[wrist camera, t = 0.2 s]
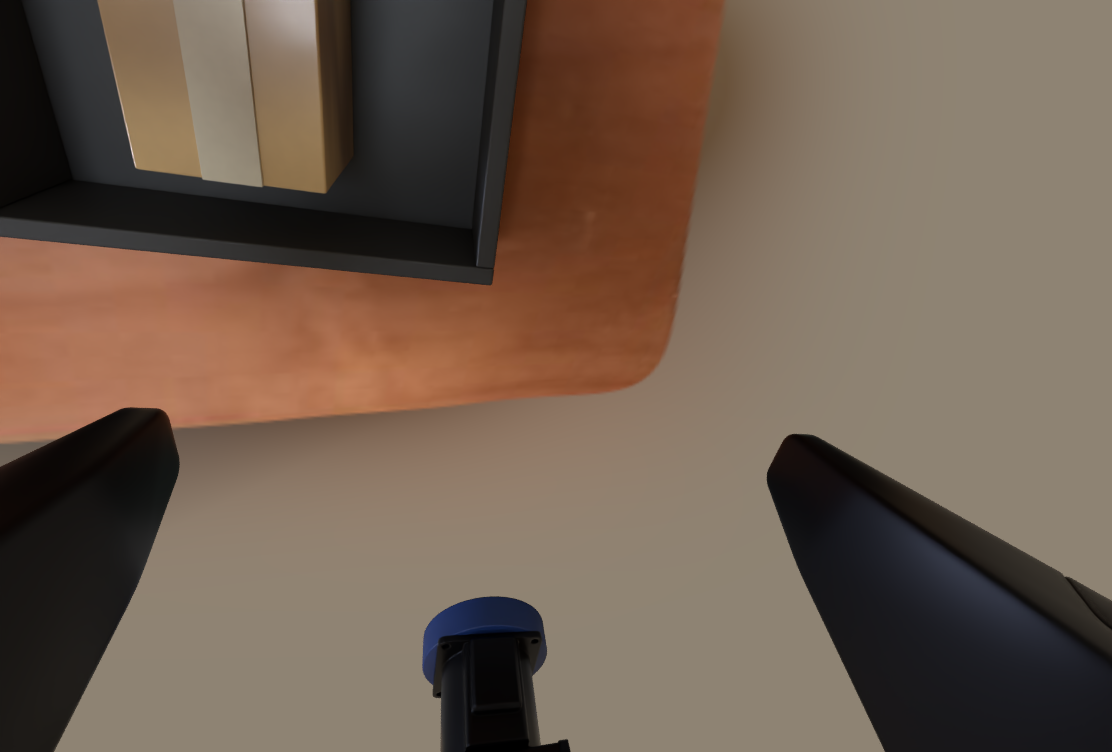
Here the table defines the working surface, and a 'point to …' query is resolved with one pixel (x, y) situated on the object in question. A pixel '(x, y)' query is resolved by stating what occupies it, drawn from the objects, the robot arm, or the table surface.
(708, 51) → the table surface
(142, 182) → the bin
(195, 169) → the package
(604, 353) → the table surface
